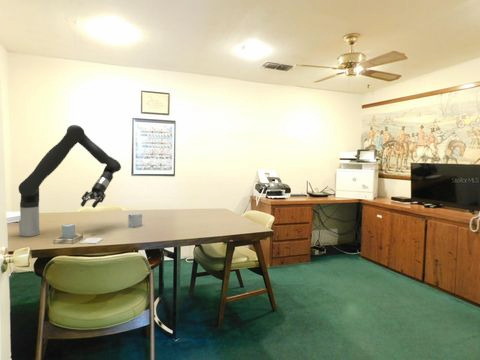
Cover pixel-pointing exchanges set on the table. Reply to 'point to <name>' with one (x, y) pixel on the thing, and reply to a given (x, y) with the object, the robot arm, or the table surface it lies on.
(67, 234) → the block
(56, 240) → the well board
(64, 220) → the table surface
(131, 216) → the medicine box
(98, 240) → the mat
